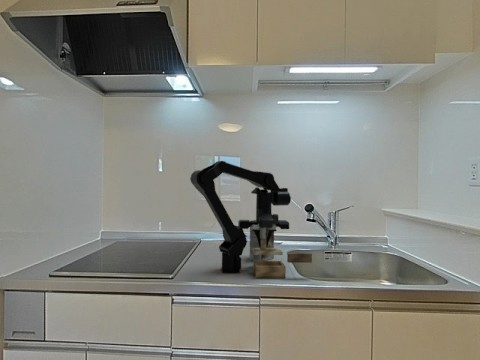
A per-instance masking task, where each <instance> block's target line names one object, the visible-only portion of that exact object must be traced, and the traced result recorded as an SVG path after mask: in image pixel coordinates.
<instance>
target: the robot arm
mask: <svg viewBox="0 0 480 360" xmlns="http://www.w3.org/2000/svg"><path fill="white" fill-rule="evenodd" d="M222 174H225V175H227V176H232V177H234V178H239V179H241V180H245V181H247V182H249V183H250V184H252V185H253V186H255V188H254V189H253V190H252V191H251V192H250V193H251V194H253V195H256V199H255V200H256V202H255V203H256V204H255V220H256V222H250V221H251V220H250V219H239V220H238V222H237V225H235V224H234V222H233V220H232V218H231V217H230V215H229V213H228V212H227V210H226V208H225V206H224V203H223V202H222V200H221V198H220V197H219V195H218V193H217V191H216V185H215V181H214V180H216V179H217V178H218V177H219V176H221V175H222ZM189 178H190V183H191V184H192V186H193V187H194V188H195V189H196V190H197V191H198V192H199V193H200V194H201V195H202V197H204V199H205V201H206V202H207V205H208V206H209V208H210V210H211V211H212V214H213V215H214V217H215V219H216V220H217V222H218V224H219V226H220V227H221V229H222V236H223V242H222V243H221V244H219V246H218V249H219V252H220V253H221V267H220V269H221V273H223V274H224V273H230V274H231V273H232V274H233V273H236V274H237V273H241V271H242V258H241V256H242V255H243V252H244V249H245V248H246V246H247V243H248V240H247V237H248V235H246V233H245V232H244V230H245V229H246V230H248V229H249V230H250V229H251V230H252V231H254V233H255V235H256V238H257V241H258V245H259V247H261V241H260V230H259V227H260V228H267V230H266V248H267V246H268V243H269V240H270V237H271V235H272V234H273V232H274V233H275V232H277V228H279V229H281V230H290V222H289V221H288V220H286V219H280V220H279V214H277V213H274V214H273V213H272V205H273V206H274V207H277V206H282V207H283V206H289V204H290V203H291V201H292V197H291V194H290V191H289V190H288V189H289V188H287V187H281V188H280V186H279V185H278V184H277V182H276V180H275V176H274V174H273V173H271V172H268V171H267V172H266V171H257V170H251V169H249V168H245V167H242V166H238V165H235V164H232V163H229V162H227V161H225V160H219V161H215V162H214V163H212V164H211V165H209V166H207V167H205V168H203V169H201V170H195V171H193V172H192V173H191V174H190V177H189ZM260 188H261V189H260ZM250 227H251V228H250Z"/></svg>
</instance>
